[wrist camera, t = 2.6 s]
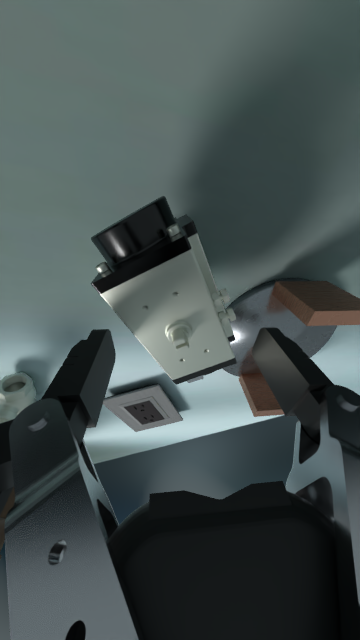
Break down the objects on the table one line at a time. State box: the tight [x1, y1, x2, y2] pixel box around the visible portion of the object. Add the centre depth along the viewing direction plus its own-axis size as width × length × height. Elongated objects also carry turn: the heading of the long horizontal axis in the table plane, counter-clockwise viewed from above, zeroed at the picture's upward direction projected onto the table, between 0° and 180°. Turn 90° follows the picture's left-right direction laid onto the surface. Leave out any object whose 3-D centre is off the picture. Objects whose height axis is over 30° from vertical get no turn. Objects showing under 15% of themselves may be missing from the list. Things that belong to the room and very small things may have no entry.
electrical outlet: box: [103, 384, 183, 432], centre depth 33 cm, size 13×10×2 cm
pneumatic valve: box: [91, 196, 237, 384], centre depth 14 cm, size 6×12×12 cm, turn 25°
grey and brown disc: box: [223, 278, 360, 417], centre depth 23 cm, size 18×17×8 cm
